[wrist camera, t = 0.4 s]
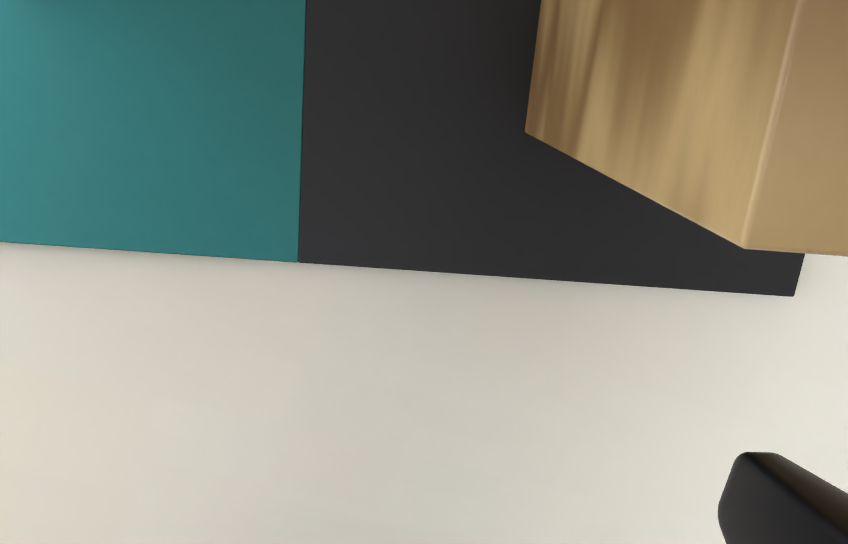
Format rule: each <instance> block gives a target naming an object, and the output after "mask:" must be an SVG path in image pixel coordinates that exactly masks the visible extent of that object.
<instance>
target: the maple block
mask: <svg viewBox="0 0 848 544" xmlns="http://www.w3.org/2000/svg"><path fill="white" fill-rule="evenodd" d="M525 133H527V134H529V135H531V136H533V137H535V138H537V139H539V140H541V141H542V142H544V143H546V144H548V145H550V146H552V147H554V148H556V149H557V150H559V151H561V152H563V153H565V154H567V155H569V156H571V157H572V158H574V159H576V160H578V161H580V162H582V163H584V164H586V165H587V166H589V167H591V168H593V169H595V170H597V171H599V172H601V173H603V174H604V175H606V176H608V177H610V178H612V179H614V180H616V181H618V182H619V183H621V184H623V185H625V186H627V187H629V188H631V189H633V190H634V191H636V192H638V193H640V194H642V195H644V196H646V197H648V198H650V199H651V200H653V201H655V202H657V203H659V204H661V205H663V206H665V207H666V208H668V209H670V210H672V211H674V212H676V213H678V214H680V215H681V216H683V217H685V218H687V219H689V220H691V221H693V222H695V223H696V224H698V225H700V226H702V227H704V228H706V229H708V230H710V231H712V232H713V233H715V234H717V235H719V236H721V237H723V238H725V239H727V240H728V241H730V242H732V243H734V244H736V245H738V246H740V247H742V248H743V249H753V250H767V251H780V252H794V253H807V254H821V255H834V256H848V0H541V7H540V15H539V23H538V30H537V38H536V46H535V54H534V62H533V70H532V77H531V85H530V93H529V101H528V109H527V117H526V125H525Z"/></svg>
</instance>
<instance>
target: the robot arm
mask: <svg viewBox="0 0 848 544" xmlns="http://www.w3.org/2000/svg"><path fill="white" fill-rule="evenodd" d="M718 520H719V524H720V528H721V530H722V533H723V536H724V538H725V541H726V543H727V544H848V494H847V493H845V492H844V491H842V490H840V489H838V488H837V487H835V486H833V485H832V484H830V483H828V482H826V481H825V480H823V479H821V478H819V477H818V476H816V475H814V474H812V473H811V472H809V471H807V470H805V469H804V468H802V467H800V466H798V465H797V464H795V463H793V462H791V461H790V460H788V459H786V458H784V457H783V456H781V455H779V454H776V453H770V452H745V453H742V454H740V455H739V456H738V457H737V458H736V459H735V461H734V464H733V466H732V469H731V472H730V474H729V477H728V480H727V483H726V485H725V488H724V491H723V493H722V496H721V499H720V501H719V505H718Z"/></svg>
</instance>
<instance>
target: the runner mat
mask: <svg viewBox="0 0 848 544" xmlns="http://www.w3.org/2000/svg"><path fill="white" fill-rule="evenodd" d="M540 7H541V0H0V242H11V243H26V244H40V245H54V246H69V247H83V248H98V249H112V250H127V251H141V252H156V253H170V254H184V255H199V256H213V257H228V258H242V259H257V260H271V261H286V262H298V261H299V262H300V263H314V264H329V265H343V266H358V267H372V268H387V269H401V270H416V271H430V272H444V273H459V274H473V275H488V276H502V277H517V278H531V279H546V280H560V281H574V282H589V283H603V284H618V285H632V286H647V287H661V288H676V289H690V290H704V291H719V292H733V293H748V294H762V295H777V296H791V297H793V296H794V294H795V290H796V286H797V282H798V278H799V275H800V271H801V267H802V263H803V259H804V256H805V253H794V252H780V251H767V250H753V249H743V248H742V247H740V246H738V245H736V244H734V243H732V242H730V241H728V240H727V239H725V238H723V237H721V236H719V235H717V234H715V233H713V232H712V231H710V230H708V229H706V228H704V227H702V226H700V225H698V224H696V223H695V222H693V221H691V220H689V219H687V218H685V217H683V216H681V215H680V214H678V213H676V212H674V211H672V210H670V209H668V208H666V207H665V206H663V205H661V204H659V203H657V202H655V201H653V200H651V199H650V198H648V197H646V196H644V195H642V194H640V193H638V192H636V191H634V190H633V189H631V188H629V187H627V186H625V185H623V184H621V183H619V182H618V181H616V180H614V179H612V178H610V177H608V176H606V175H604V174H603V173H601V172H599V171H597V170H595V169H593V168H591V167H589V166H587V165H586V164H584V163H582V162H580V161H578V160H576V159H574V158H572V157H571V156H569V155H567V154H565V153H563V152H561V151H559V150H557V149H556V148H554V147H552V146H550V145H548V144H546V143H544V142H542V141H541V140H539V139H537V138H535V137H533V136H531V135H529V134H527V133H525V125H526V117H527V109H528V101H529V93H530V85H531V77H532V70H533V62H534V54H535V46H536V38H537V30H538V23H539V15H540Z"/></svg>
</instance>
